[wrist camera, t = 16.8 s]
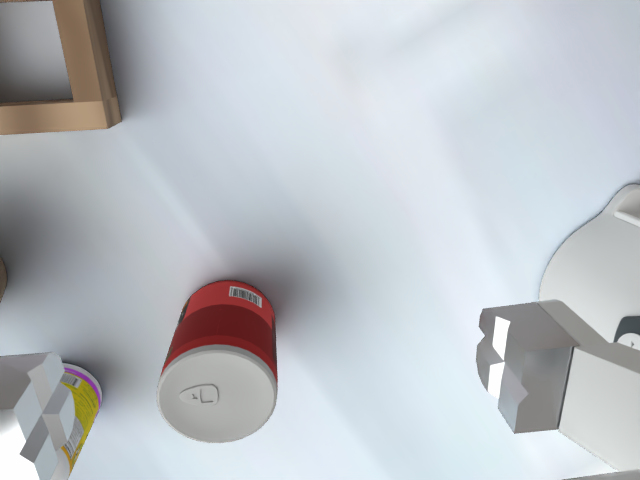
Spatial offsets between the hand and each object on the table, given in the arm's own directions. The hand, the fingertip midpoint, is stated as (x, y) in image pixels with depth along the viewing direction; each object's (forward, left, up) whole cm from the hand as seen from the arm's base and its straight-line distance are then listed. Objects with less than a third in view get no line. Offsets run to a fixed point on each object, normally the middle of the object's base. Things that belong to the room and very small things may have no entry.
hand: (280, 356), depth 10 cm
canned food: (+5, +16, -31) cm, 35 cm away
